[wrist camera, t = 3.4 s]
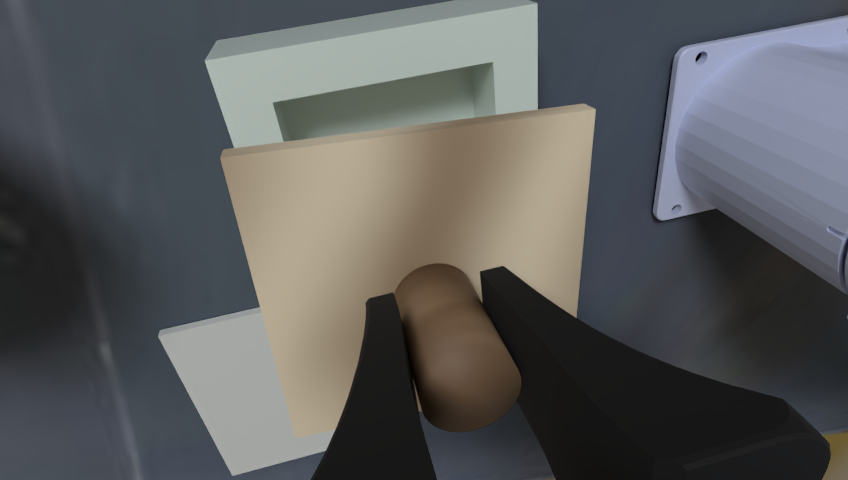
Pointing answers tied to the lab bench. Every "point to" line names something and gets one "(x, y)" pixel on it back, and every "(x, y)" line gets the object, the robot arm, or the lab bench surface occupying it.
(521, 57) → the dish
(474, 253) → the lid
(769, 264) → the lab bench surface
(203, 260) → the lab bench surface
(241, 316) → the mat
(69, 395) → the lab bench surface
